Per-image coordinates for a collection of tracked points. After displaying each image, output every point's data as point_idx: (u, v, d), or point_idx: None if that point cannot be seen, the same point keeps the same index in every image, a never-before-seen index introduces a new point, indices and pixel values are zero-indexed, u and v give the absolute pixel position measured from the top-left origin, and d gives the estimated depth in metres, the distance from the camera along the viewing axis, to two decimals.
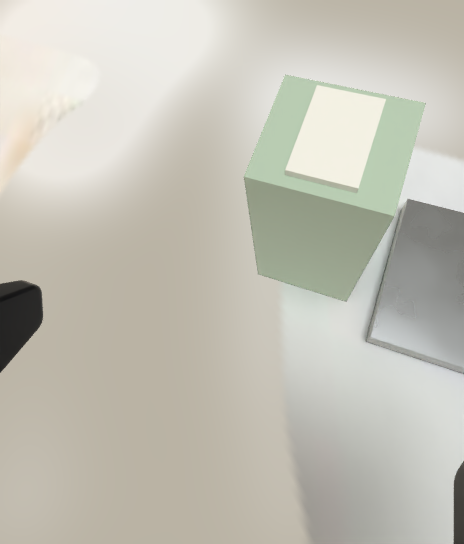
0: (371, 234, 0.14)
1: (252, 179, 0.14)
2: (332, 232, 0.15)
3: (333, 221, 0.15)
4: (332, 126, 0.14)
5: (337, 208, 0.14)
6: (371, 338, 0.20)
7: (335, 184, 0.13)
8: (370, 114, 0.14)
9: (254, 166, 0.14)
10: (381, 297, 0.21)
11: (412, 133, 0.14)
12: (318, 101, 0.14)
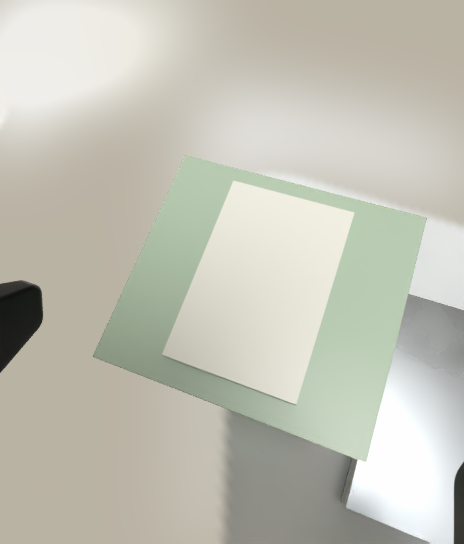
0: None
1: (108, 362, 0.08)
2: None
3: None
4: (255, 265, 0.07)
5: (262, 422, 0.07)
6: None
7: (254, 389, 0.07)
8: (325, 241, 0.08)
9: (113, 336, 0.08)
10: None
11: (402, 279, 0.07)
12: (233, 213, 0.08)
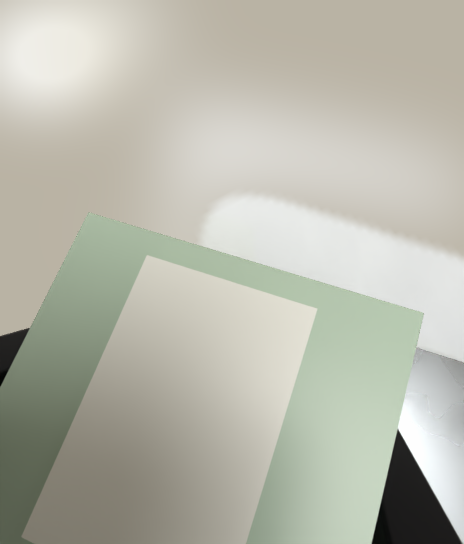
0: None
1: None
2: None
3: None
4: (168, 390, 0.05)
5: None
6: None
7: None
8: (273, 355, 0.05)
9: None
10: None
11: (388, 411, 0.05)
12: (143, 305, 0.05)
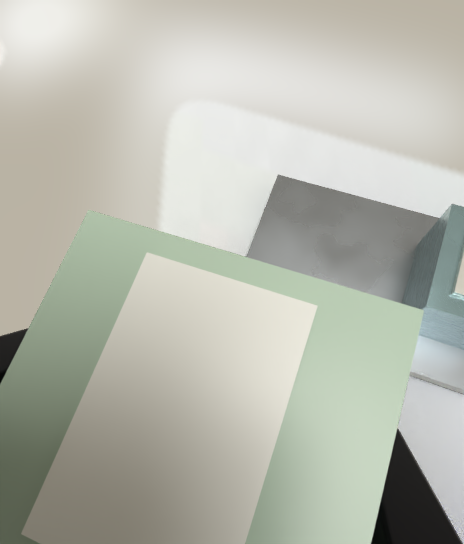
0: None
1: None
2: None
3: None
4: (168, 388, 0.05)
5: None
6: None
7: None
8: (272, 352, 0.05)
9: None
10: None
11: (388, 408, 0.05)
12: (143, 303, 0.05)
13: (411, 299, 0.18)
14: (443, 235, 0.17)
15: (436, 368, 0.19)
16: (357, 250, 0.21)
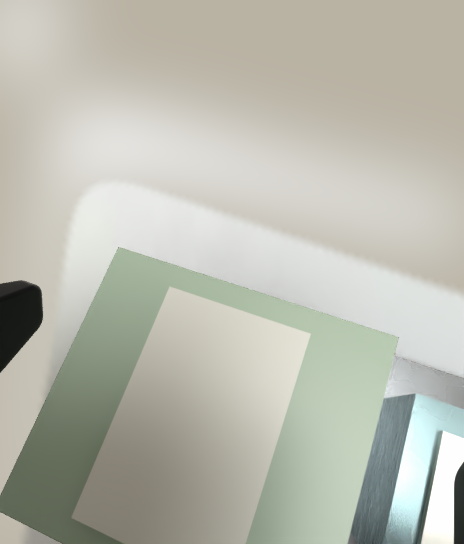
0: None
1: (13, 517, 0.06)
2: None
3: None
4: (189, 400, 0.06)
5: None
6: None
7: None
8: (273, 371, 0.06)
9: (20, 482, 0.06)
10: None
11: (367, 418, 0.06)
12: (167, 329, 0.07)
13: (365, 507, 0.13)
14: (403, 445, 0.11)
15: None
16: None
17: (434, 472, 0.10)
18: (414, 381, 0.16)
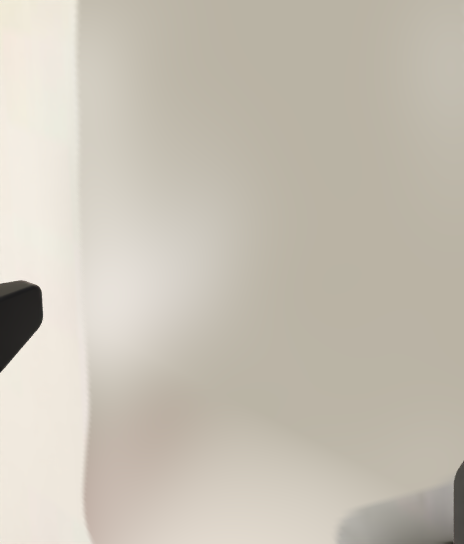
0: None
1: None
2: None
3: None
4: None
5: None
6: None
7: None
8: None
9: None
10: None
11: None
12: None
13: None
14: None
15: None
16: None
17: None
18: None
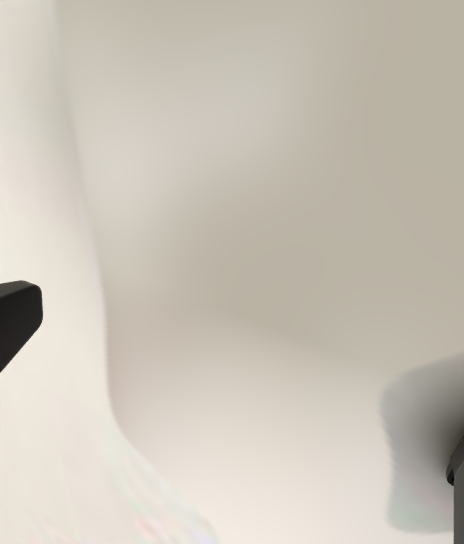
0: None
1: None
2: None
3: None
4: None
5: None
6: None
7: None
8: None
9: None
10: None
11: None
12: None
13: None
14: None
15: None
16: None
17: None
18: None
